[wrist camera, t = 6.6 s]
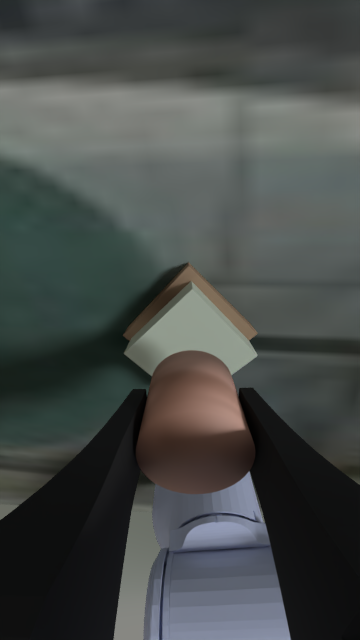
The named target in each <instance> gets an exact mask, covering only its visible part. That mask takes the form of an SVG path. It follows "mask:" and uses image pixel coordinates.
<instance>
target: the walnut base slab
mask: <svg viewBox="0 0 360 640" xmlns="http://www.w3.org/2000/svg"><path fill="white" fill-rule="evenodd" d="M191 281H192V282H193V283H194V284H195V285H196V286H197V287H198V288H199V289H200V290H201V291H202V292H203V294H204V295H205V296H206V297H207V298H208V299H209V300H210V301H211V302H212V303H213V304H214V305H215V306H216V307H217V308H218V309H219V310H220V311H221V312H222V313H223V314H224V315H225V316H226V317H227V318H228V319H229V320H230V321H231V322H232V324H233V325H234V326H235V327H236V328H237V329H238V330H239V331H240V332H241V333H242V334H243V335H244V336H245V337H246V338H247V339H248V340H250V339H252V338H253V337H254V336H255V335H256V334H258V333H257V332H256V330H255V329H254V328H253V326H252V325H251V324H250V323H249V322H248V321H247V320H246V319H245V318H244V317H243V316H242V315H241V314H240V313H239V312H238V311H237V310H236V309H235V308H234V307H233V306H232V305H231V304H230V303H229V302H228V301H227V300H226V299H225V298H224V297H223V296H222V295H221V294H220V293H219V292H218V291H217V290H216V289H215V288H214V287H213V286H212V285H211V284H210V283H209V282H208V281H207V280H206V279H205V278H204V277H203V276H202V275H201V274H200V273H199V272H198V271H197V270H196V269H195V268H194V267H193V266H192V265H191V264H190V263H189V262H188V263H187V264H186V265H185V267H184V268H183V269H182V270H181V271H180V272H179V273H178V274H177V275H176V276H175V277H174V278H173V279H172V280H171V281H170V283H169V284H168V285H167V286H166V287H165V288H164V289H163V290H162V291H161V292H160V293H159V294H158V295H157V296H156V297H155V298H154V300H153V301H152V302H151V303H150V304H149V305H148V306H147V307H146V308H145V309H144V310H143V311H142V312H141V313H140V314H139V316H138V317H137V318H136V319H135V320H134V321H133V322H132V323H131V324H130V325H129V326H128V328H127V329H126V331H125V333H124V334H123V336H124V337H125V338H126V339H128V340H129V341H130V340H131V338H132V337H133V336H134V335H135V334H136V333H137V332H138V331H139V330H140V329H141V328H143V327H144V326H145V325H146V324H147V323H148V322H149V321H150V320H151V319H152V318H153V317H154V316H155V315H156V314H157V313H158V312H159V311H160V310H161V309H162V308H163V307H164V306H166V305H167V304H168V303H169V302H170V301H171V300H172V299H173V298H174V297H175V296H176V295H177V294H178V293H179V292H180V291H181V290H182V289H183V288H184V287H185V286H186V285H188V284H189V283H190V282H191Z"/></svg>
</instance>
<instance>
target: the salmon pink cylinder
mask: <svg viewBox="0 0 360 640" xmlns="http://www.w3.org/2000/svg"><path fill="white" fill-rule="evenodd" d="M136 459H137V463H138V465H139V467H140V469H141V471H142V472H143V473H144V474H145V475H146V477H148V478H149V479H150V480H151V481H152V482H154V483H155V484H157V485H159V486H161V487H163V488H165V489H168V490H171V491H174V492H179V493H185V494H206V493H212V492H217V491H220V490H223V489H226V488H228V487H230V486H232V485H234V484H236V483H237V482H238V481H240V480H241V479H242V478H243V477H245V475H246V474H247V473H248V472H249V471H250V469H251V467H252V465H253V463H254V460H255V445H254V442H253V439H252V436H251V433H250V430H249V427H248V424H247V421H246V418H245V415H244V412H243V409H242V406H241V403H240V400H239V397H238V394H237V391H236V388H235V385H234V382H233V379H232V376H231V373H230V371H229V369H228V367H227V366H226V365H225V364H224V363H223V362H222V361H221V360H220V359H219V358H217V357H216V356H214V355H212V354H209V353H207V352H203V351H197V350H188V351H181V352H177V353H174V354H172V355H170V356H168V357H167V358H165V359H164V360H163V361H161V362H160V363H159V365H158V366H157V367H156V369H155V370H154V372H153V375H152V379H151V383H150V387H149V392H148V396H147V401H146V405H145V410H144V414H143V419H142V423H141V427H140V432H139V436H138V441H137V445H136Z"/></svg>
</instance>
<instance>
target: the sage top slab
mask: <svg viewBox="0 0 360 640" xmlns="http://www.w3.org/2000/svg"><path fill="white" fill-rule="evenodd" d="M188 350H197V351H203V352H207V353H209V354H212V355H214V356H216V357H217V358H219V359H220V360H221V361H222V362H223V363H224V364H225V365H226V366H227V367H228V369H229V371H230V373H231V375H232V374H234V373H235V372H236V371H238V370H239V369H240V368H242V367H243V366H245V365H246V364H247V363H249V362H250V361H251V360H253V359H254V358H255V357H257V356H258V355H257V353H256V352H255V350H254V348H253V347H252V345H251V343H250V342H249V340H248V339H247V338H246V337H245V336H244V335H243V334H242V333H241V332H240V331H239V330H238V329H237V328H236V327H235V326H234V325H233V324H232V322H231V321H230V320H229V319H228V318H227V317H226V316H225V315H224V314H223V313H222V312H221V311H220V310H219V309H218V308H217V307H216V306H215V305H214V304H213V303H212V302H211V301H210V300H209V299H208V298H207V297H206V296H205V295H204V294H203V292H202V291H201V290H200V289H199V288H198V287H197V286H196V285H195V284H194V283H193V282H192V281H191V282H190V283H189V284H188V285H186V286H185V287H184V288H183V289H182V290H181V291H180V292H179V293H178V294H177V295H176V296H175V297H174V298H173V299H172V300H171V301H170V302H169V303H168V304H167V305H166V306H164V307H163V308H162V309H161V310H160V311H159V312H158V313H157V314H156V315H155V316H154V317H153V318H152V319H151V320H150V321H149V322H148V323H147V324H146V325H145V326H144V327H143V328H141V329H140V330H139V331H138V332H137V333H136V334H135V335H134V336H133V337H132V338H131V340H130V342H129V344H128V346H127V348H126V350H125V352H124V354H125V355H126V356H127V357H129V358H130V359H131V360H132V361H134V362H135V363H136V364H137V365H138V366H140V367H141V368H142V369H143V370H145V371H146V372H147V373H148V374H149V375H151V376H152V375H153V372H154V370H155V369H156V367H157V366H158V365H159V363H160V362H161V361H163V360H164V359H165V358H167V357H168V356H170V355H172V354H174V353H177V352H181V351H188Z"/></svg>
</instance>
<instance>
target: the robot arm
mask: <svg viewBox="0 0 360 640" xmlns="http://www.w3.org/2000/svg"><path fill="white" fill-rule="evenodd" d="M239 400H240V403H241V406H242V409H243V412H244V415H245V418H246V421H247V424H248V427H249V430H250V433H251V436H252V439H253V442H254V445H255V460H254V463H253V465H252V467H251V469H250V472H251V476H252V479H253V482H254V485H255V488H256V491H257V494H258V497H259V501H260V504H261V508H262V511H263V515H264V519H265V523H263V520H262V516H261V513H260V509H259V505H258V502H257V498H256V494H255V491H254V487H253V483H252V480H251V476H250V472H248V473H247V474H246V475H245V477H243V478H242V479H241V480H240V481H238V482H237V483H236V484H234V485H232V486H230V487H228V488H226V489H223V490H220V491H217V492H212V493H206V494H185V493H179V492H174V491H171V490H168V489H165V488H163V487H161V486H159V485H157V484H155V493H154V501H153V512H152V515H153V516H152V517H153V527H154V531H155V535H156V539H157V542H158V544H159V546H160V548H161V550H160V552H159V554H158V556H157V558H156V560H155V561H154V563H153V565H152V568H151V572H150V576H149V582H148V589H147V595H146V605H145V617H144V639H143V640H360V485H359V484H357V483H356V482H355V481H353V480H352V479H351V478H349V477H348V476H346V475H345V474H344V473H343V472H341V471H340V470H339V469H337V468H336V467H335V466H334V465H332V464H331V463H330V462H329V461H327V460H326V459H325V458H324V457H323V456H321V455H320V454H319V453H318V452H316V451H315V450H314V449H313V448H312V447H311V446H309V445H308V444H307V443H306V442H305V441H304V440H303V439H302V438H301V437H300V436H299V435H297V434H296V433H295V432H294V431H293V430H292V429H291V428H290V427H289V426H288V425H287V424H286V423H285V422H284V421H283V420H282V419H281V418H280V417H279V416H278V415H277V414H276V413H275V412H274V411H273V409H272V408H271V407H270V406H269V405H268V404H267V403H266V402H265V401H264V400H263V399H262V397H261V396H260V395H259V394H258V393H257V392H256V391H255V390H254V389H253V388H239ZM146 401H147V395H146V389H133V390H132V391H131V392H130V394H129V395H128V396H127V398H126V399H125V400H124V402H123V403H122V404H121V406H120V407H119V408H118V410H117V411H116V412H115V413H114V415H113V416H112V417H111V418H110V420H109V421H108V422H107V423H106V424H105V426H104V427H103V428H102V429H101V430H100V431H99V432H98V434H97V435H96V436H95V437H94V438H93V439H92V440H91V441H90V443H89V444H88V445H87V446H86V447H85V448H84V449H83V450H82V451H81V452H80V453H79V454H78V455H77V456H76V457H75V458H74V459H73V460H72V461H71V462H70V463H69V464H68V465H66V466H65V467H64V468H63V469H62V470H61V471H60V472H59V473H58V474H57V475H55V476H54V477H53V478H52V479H51V480H50V481H49V482H48V483H46V484H45V485H44V486H43V487H42V488H41V489H39V490H38V491H37V492H36V493H34V494H33V495H32V496H31V497H29V498H28V499H27V500H26V501H24V502H23V503H22V504H21V505H19V506H18V507H17V508H16V509H15V510H13V511H12V512H11V513H9V514H8V515H7V516H5V517H4V518H3V519H1V520H0V640H113V638H114V629H115V622H116V614H117V607H118V599H119V592H120V584H121V577H122V569H123V563H124V556H125V549H126V542H127V535H128V528H129V522H130V516H131V510H132V505H133V500H134V495H135V491H136V487H137V483H138V478H139V474H140V470H141V469H140V467H139V465H138V463H137V459H136V445H137V441H138V436H139V432H140V427H141V423H142V419H143V414H144V410H145V405H146Z"/></svg>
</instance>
